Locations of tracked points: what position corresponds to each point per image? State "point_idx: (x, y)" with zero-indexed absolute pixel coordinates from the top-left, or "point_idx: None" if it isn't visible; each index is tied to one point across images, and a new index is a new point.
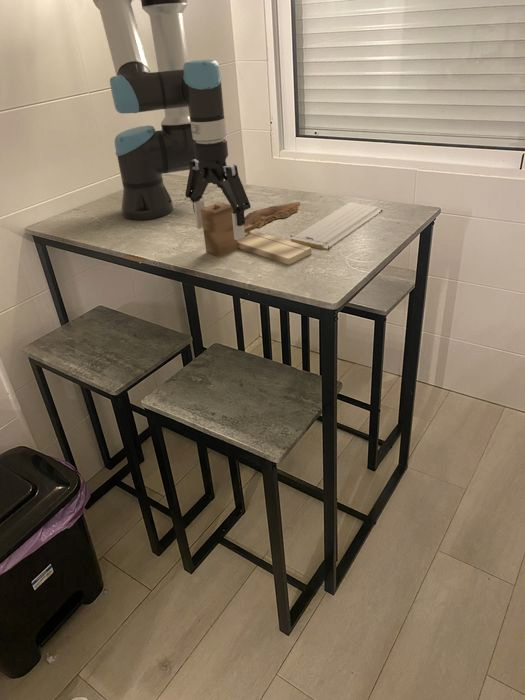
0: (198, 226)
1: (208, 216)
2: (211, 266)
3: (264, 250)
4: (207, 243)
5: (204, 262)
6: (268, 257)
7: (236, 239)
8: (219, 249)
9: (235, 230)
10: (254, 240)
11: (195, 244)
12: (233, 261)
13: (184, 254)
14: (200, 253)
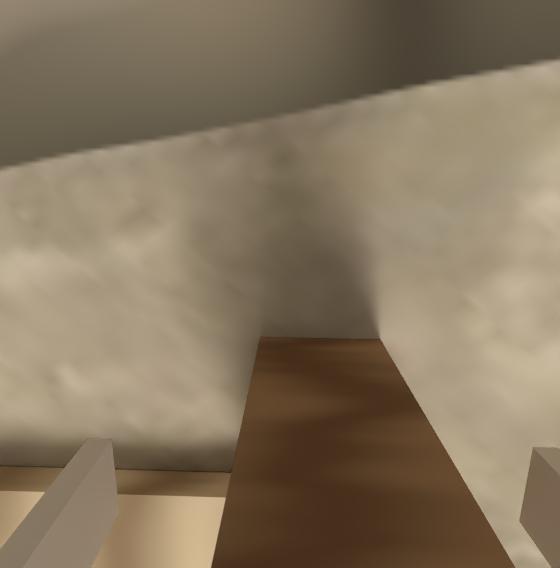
0: (547, 460)
1: (354, 535)
2: (201, 222)
3: None
4: (370, 366)
5: (280, 236)
6: (43, 469)
7: (85, 443)
8: (255, 360)
9: (42, 497)
10: (209, 560)
11: (529, 382)
12: (155, 342)
13: (480, 244)
14: (401, 311)
